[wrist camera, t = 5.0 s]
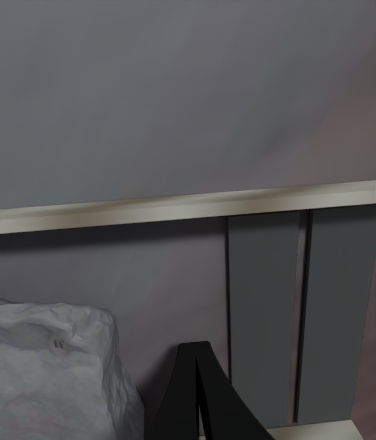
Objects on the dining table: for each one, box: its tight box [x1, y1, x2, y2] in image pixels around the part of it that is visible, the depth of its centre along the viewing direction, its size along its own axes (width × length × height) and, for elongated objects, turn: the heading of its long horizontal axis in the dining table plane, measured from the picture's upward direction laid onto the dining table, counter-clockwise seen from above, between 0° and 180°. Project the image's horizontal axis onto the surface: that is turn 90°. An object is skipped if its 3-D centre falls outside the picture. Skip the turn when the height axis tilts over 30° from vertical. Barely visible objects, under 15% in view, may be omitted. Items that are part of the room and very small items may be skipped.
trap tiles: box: [227, 203, 376, 428], centre depth 14 cm, size 7×12×1 cm, turn 4°
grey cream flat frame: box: [0, 180, 376, 440], centre depth 13 cm, size 24×14×2 cm, turn 94°
